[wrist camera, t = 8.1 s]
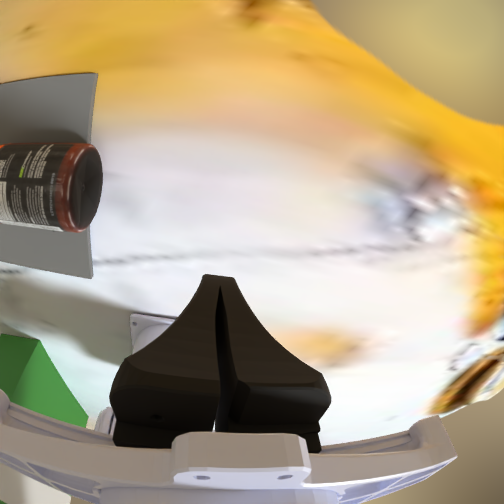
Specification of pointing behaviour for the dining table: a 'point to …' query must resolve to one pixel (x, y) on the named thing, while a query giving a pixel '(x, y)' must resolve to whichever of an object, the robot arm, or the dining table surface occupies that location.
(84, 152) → the supplement bottle
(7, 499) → the hardback book
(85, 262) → the mat
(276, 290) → the dining table surface
